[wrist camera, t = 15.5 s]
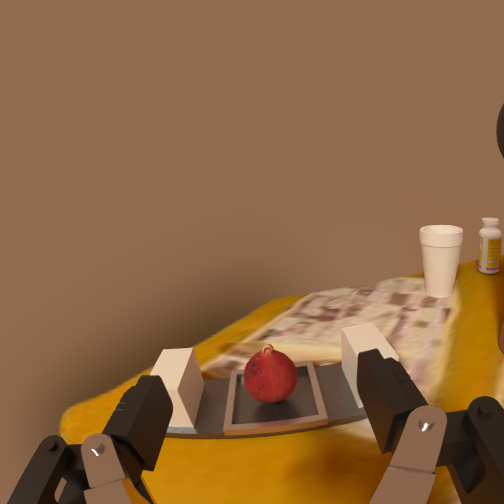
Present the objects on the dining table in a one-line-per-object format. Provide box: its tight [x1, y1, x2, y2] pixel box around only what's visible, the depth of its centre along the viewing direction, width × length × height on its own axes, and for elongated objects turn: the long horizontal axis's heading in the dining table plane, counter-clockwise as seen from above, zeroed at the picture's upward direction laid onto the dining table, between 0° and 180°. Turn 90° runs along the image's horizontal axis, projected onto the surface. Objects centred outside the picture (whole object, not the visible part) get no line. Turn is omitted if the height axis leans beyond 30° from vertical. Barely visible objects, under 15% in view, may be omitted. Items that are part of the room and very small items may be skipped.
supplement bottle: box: [477, 218, 502, 274], centre depth 47 cm, size 7×7×13 cm
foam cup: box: [420, 225, 463, 298], centre depth 45 cm, size 10×9×13 cm
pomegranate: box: [244, 344, 298, 403], centre depth 28 cm, size 6×6×8 cm
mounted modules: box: [150, 322, 399, 427], centre depth 28 cm, size 26×8×6 cm, turn 89°
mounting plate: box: [165, 361, 368, 439], centre depth 29 cm, size 28×11×2 cm, turn 89°
